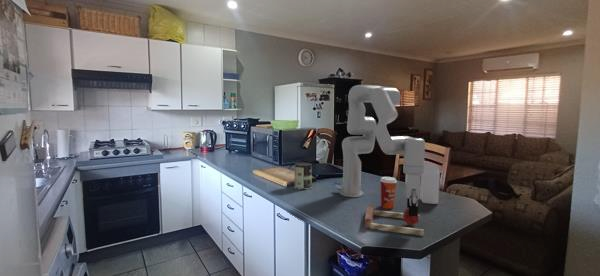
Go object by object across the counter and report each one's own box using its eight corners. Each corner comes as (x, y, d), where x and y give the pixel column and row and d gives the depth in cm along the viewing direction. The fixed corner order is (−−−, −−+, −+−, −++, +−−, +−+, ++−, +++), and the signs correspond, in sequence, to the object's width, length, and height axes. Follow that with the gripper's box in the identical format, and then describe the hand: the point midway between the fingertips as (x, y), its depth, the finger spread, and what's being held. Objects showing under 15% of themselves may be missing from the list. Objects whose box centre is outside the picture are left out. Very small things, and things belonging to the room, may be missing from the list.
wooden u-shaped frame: (364, 228, 113) (365, 218, 112) (367, 213, 128) (368, 204, 128) (423, 235, 106) (423, 225, 106) (419, 219, 122) (419, 210, 121)
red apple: (400, 223, 118) (401, 204, 117) (413, 222, 118) (414, 203, 117) (406, 229, 112) (407, 209, 111) (420, 228, 113) (421, 209, 112)
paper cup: (387, 210, 132) (388, 181, 130) (375, 205, 138) (376, 177, 137) (399, 208, 135) (400, 179, 134) (387, 203, 142) (388, 175, 141)
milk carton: (438, 204, 141) (440, 166, 139) (422, 203, 142) (424, 165, 140) (434, 199, 148) (436, 163, 146) (419, 198, 149) (421, 163, 147)
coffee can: (311, 185, 174) (311, 162, 173) (311, 189, 164) (312, 165, 162) (294, 184, 174) (294, 162, 173) (294, 189, 164) (294, 165, 162)
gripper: (402, 165, 122) (401, 204, 123) (404, 173, 105) (403, 218, 107) (421, 166, 120) (419, 205, 121) (426, 174, 103) (424, 220, 105)
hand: (412, 211), depth 114 cm, fingers open, 9 cm apart
